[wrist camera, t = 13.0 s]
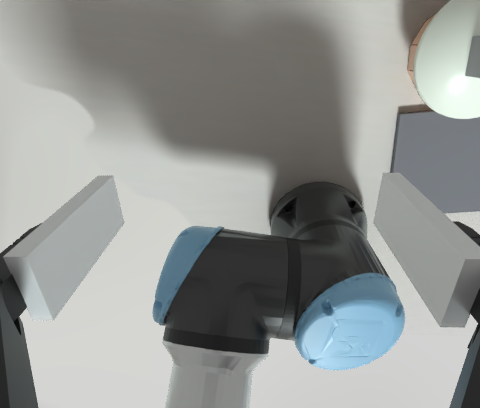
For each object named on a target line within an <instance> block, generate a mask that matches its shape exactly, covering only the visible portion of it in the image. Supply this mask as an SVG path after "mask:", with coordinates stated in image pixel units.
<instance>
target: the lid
mask: <svg viewBox="0 0 480 408" xmlns="http://www.w3.org/2000/svg"><path fill="white" fill-rule="evenodd" d="M413 74H414V82H415V86H416V89H417V92H418V94H419V96H420V97H421V99H422V100H423V102H424V103H425V104H426V105H427V106H428V107H429V108H430V109H432V110H433V111H435V112H437V113H439V114H442V115H444V116H447V117H451V118H456V119H471V118H477V117H480V0H450V1H449V2H447V3H446V4H445V5H444V6H443V7H442V8H441V9H440V10H439V11H438V13H437V14H436V15H435V16H434V17H433V19H432V20H431V21H430V23H429V24H428V26H427V27H426V29H425V31H424V33H423V35H422V37H421V39H420V41H419V44H418V47H417V50H416V53H415V58H414V67H413Z"/></svg>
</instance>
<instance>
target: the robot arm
mask: <svg viewBox="0 0 480 408" xmlns="http://www.w3.org/2000/svg"><path fill="white" fill-rule="evenodd" d="M123 224H124V220H123V216H122V212H121V207H120V203H119V199H118V195H117V190H116V186H115V182H114V177H113V176H97V177H96V178H95V179H94V180H93V181H92V182H90V183H89V184H88V185H87V186H86V187H84V188H83V189H82V190H81V191H80V192H79V193H77V194H76V195H75V196H74V197H73V198H71V199H70V200H69V201H68V202H67V203H66V204H64V205H63V206H62V207H61V208H60V209H59V210H57V211H56V212H55V213H54V214H53V215H52V216H50V217H49V218H48V219H47V220H46V221H44V222H43V223H41V224H39V225H37V226H35V227H33V228H31V229H29V230H28V231H27V232H26V233H24V234H23V235H22V236H21V237H20V239H17V240H16V241H15V242H14V243H13V245H10V246H9V247H8V248H6V249H5V250H4V251H3V252H2V253H0V408H38V403H37V398H36V392H35V387H34V383H33V377H32V371H31V366H30V360H29V355H28V350H27V344H26V339H25V333H24V328H23V324H22V321H21V319H20V317H19V316H20V315H21V314H22V312H23V311H24V310H25V309H26V308H27V310H28V312H29V314H30V316H31V318H32V320H54V319H55V318H56V316H57V315H58V313H59V312H60V310H61V309H62V308H63V307H64V305H65V304H66V302H67V301H68V300H69V298H70V297H71V296H72V294H73V293H74V292H75V290H76V289H77V287H78V286H79V285H80V283H81V282H82V281H83V279H84V278H85V276H86V275H87V274H88V272H89V271H90V270H91V268H92V267H93V265H94V264H95V263H96V261H97V260H98V259H99V257H100V256H101V254H102V253H103V252H104V250H105V249H106V248H107V246H108V245H109V243H110V242H111V240H112V239H113V238H114V237H115V235H116V234H117V232H118V231H119V230H120V228H121V227H122V226H123ZM374 225H375V226H376V228H377V229H378V231H379V232H380V234H381V235H382V237H383V239H384V240H385V242H386V243H387V245H388V246H389V248H390V250H391V251H392V253H393V254H394V256H395V257H396V259H397V260H398V262H399V264H400V265H401V267H402V268H403V270H404V271H405V273H406V274H407V276H408V278H409V279H410V281H411V282H412V284H413V285H414V287H415V289H416V290H417V292H418V293H419V295H420V296H421V298H422V299H423V301H424V303H425V304H426V306H427V307H428V309H429V310H430V312H431V314H432V315H433V317H434V318H435V320H436V321H437V323H438V324H439V326H440V327H465V325H466V322H467V320H468V318H469V315H470V313H471V315H472V316H473V317H474V319H475V320H476V321H477V322H478V325H477V327H476V330H475V332H474V334H473V336H472V339H471V341H470V343H469V345H468V348H469V350H468V353H467V356H466V359H465V363H464V365H463V368H462V371H461V375H460V377H459V380H458V383H457V386H456V389H455V393H454V396H453V399H452V402H451V405H450V408H480V235H479V234H478V233H477V232H475V231H474V230H473V229H472V228H470V227H468V226H466V225H464V224H462V223H460V222H452V221H451V220H450V219H449V218H448V217H447V216H446V215H445V214H444V213H443V212H442V211H440V210H439V209H438V208H437V207H436V206H435V205H434V204H433V203H432V202H431V201H430V200H429V199H427V198H426V197H425V196H424V195H423V194H422V193H421V192H420V191H419V190H418V189H417V188H416V187H414V186H413V185H412V184H411V183H410V182H409V181H408V180H407V179H406V178H405V177H404V176H403V175H401V174H400V173H383V176H382V181H381V186H380V191H379V197H378V202H377V207H376V212H375V217H374ZM155 298H156V299H155V303H154V306H153V318H154V321H155V322H157V323H159V324H160V325H165V326H166V327H165V332H164V337H163V344H164V346H165V347H166V349H167V351H168V352H169V354H170V355H171V357H172V359H173V367H172V373H171V378H170V384H169V390H168V395H167V401H166V407H165V408H249V402H250V392H251V382H252V372H253V371H254V369H255V368H256V367H257V366H258V365H259V364H260V363H261V362H262V361H263V360H265V359H266V358H267V357H268V350H269V339H270V338H278V339H286V340H293V341H295V345H296V347H297V349H298V351H299V352H300V354H301V356H302V357H303V358H304V359H305V360H308V361H309V363H310V364H312V365H314V366H316V367H319V368H323V369H327V370H347V369H352V368H356V367H360V366H363V365H366V364H368V363H370V362H371V361H373V360H375V359H377V358H379V357H381V356H382V355H384V354H385V353H386V352H388V351H389V350H390V349H391V348H392V347H393V346H394V344H395V343H396V342H397V340H398V339H399V337H400V335H401V333H402V331H403V328H404V323H405V313H404V308H403V306H402V303H401V301H400V299H399V297H398V295H397V291H396V287H395V285H394V283H393V281H391V279H390V277H389V276H388V274H387V272H386V271H385V269H384V267H383V266H382V264H381V262H380V261H379V259H378V257H377V256H376V254H375V252H374V251H373V249H372V247H371V246H370V244H369V242H368V241H367V219H366V215H365V212H364V209H363V208H362V206H361V204H360V203H359V201H358V200H357V198H356V197H355V196H354V195H353V194H352V193H351V192H350V191H348V190H347V189H345V188H343V187H341V186H339V185H336V184H332V183H325V182H316V183H309V184H305V185H302V186H300V187H297V188H295V189H293V190H292V191H290V192H289V193H287V194H286V195H285V196H284V197H283V198H282V199H281V200H280V201H279V202H278V204H277V205H276V207H275V209H274V211H273V214H272V217H271V235H265V234H258V233H251V232H244V231H236V230H229V229H224V227H218V228H212V227H200V226H192V227H189V228H187V229H185V230H184V231H182V232H181V234H180V235H179V236H178V237H177V239H176V240H175V242H174V244H173V246H172V248H171V250H170V252H169V254H168V256H167V259H166V261H165V264H164V266H163V270H162V272H161V276H160V279H159V282H158V286H157V290H156V294H155Z"/></svg>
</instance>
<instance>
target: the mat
mask: <svg viewBox="0 0 480 408" xmlns="http://www.w3.org/2000/svg"><path fill="white" fill-rule="evenodd" d="M391 173H400V174H401V175H403V176H404V177H405V178H406V179H407V180H408V181H409V182H410V183H411V184H412V185H413V186H414V187H416V188H417V189H418V190H419V191H420V192H421V193H422V194H423V195H424V196H425V197H426V198H427V199H429V200H430V201H431V202H432V203H433V204H434V205H435V206H436V207H437V208H438V209H439V210H440V211H442V212H443V213H457V212H474V211H480V117H477V118H471V119H456V118H451V117H447V116H444V115H442V114H439V113H437V112H435V111H433V110H432V111H421V112H409V113H398V117H397V125H396V133H395V141H394V149H393V157H392V165H391Z"/></svg>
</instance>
